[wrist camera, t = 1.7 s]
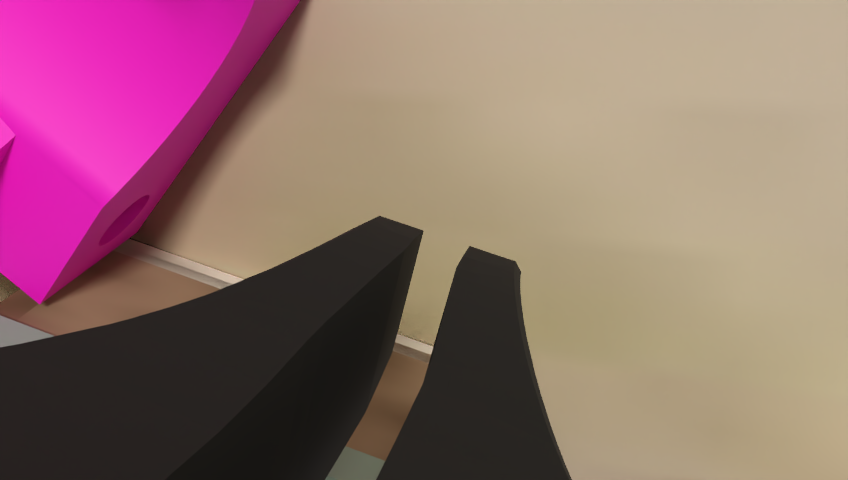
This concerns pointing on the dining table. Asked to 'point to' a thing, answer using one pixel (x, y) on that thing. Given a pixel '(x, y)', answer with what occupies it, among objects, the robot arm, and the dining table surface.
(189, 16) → the toy block
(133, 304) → the brown wooden tray
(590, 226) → the dining table surface
